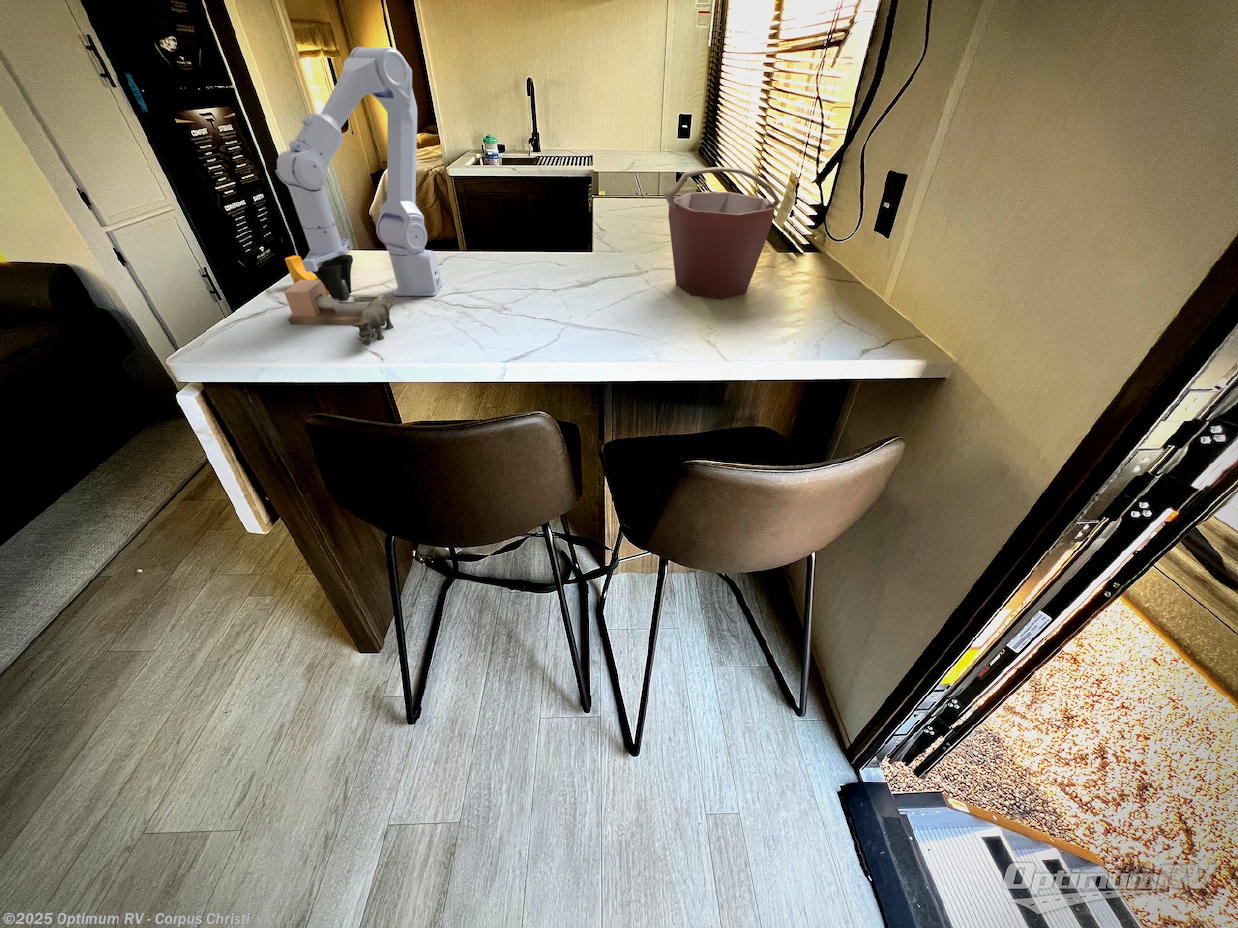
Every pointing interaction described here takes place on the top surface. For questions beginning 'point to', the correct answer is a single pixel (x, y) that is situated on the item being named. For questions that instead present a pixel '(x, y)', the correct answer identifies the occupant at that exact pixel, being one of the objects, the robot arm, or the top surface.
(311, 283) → the socket
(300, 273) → the orange piece
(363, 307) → the channel
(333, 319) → the board
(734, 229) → the bucket
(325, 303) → the bolt
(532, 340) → the top surface
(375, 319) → the rhino figurine
